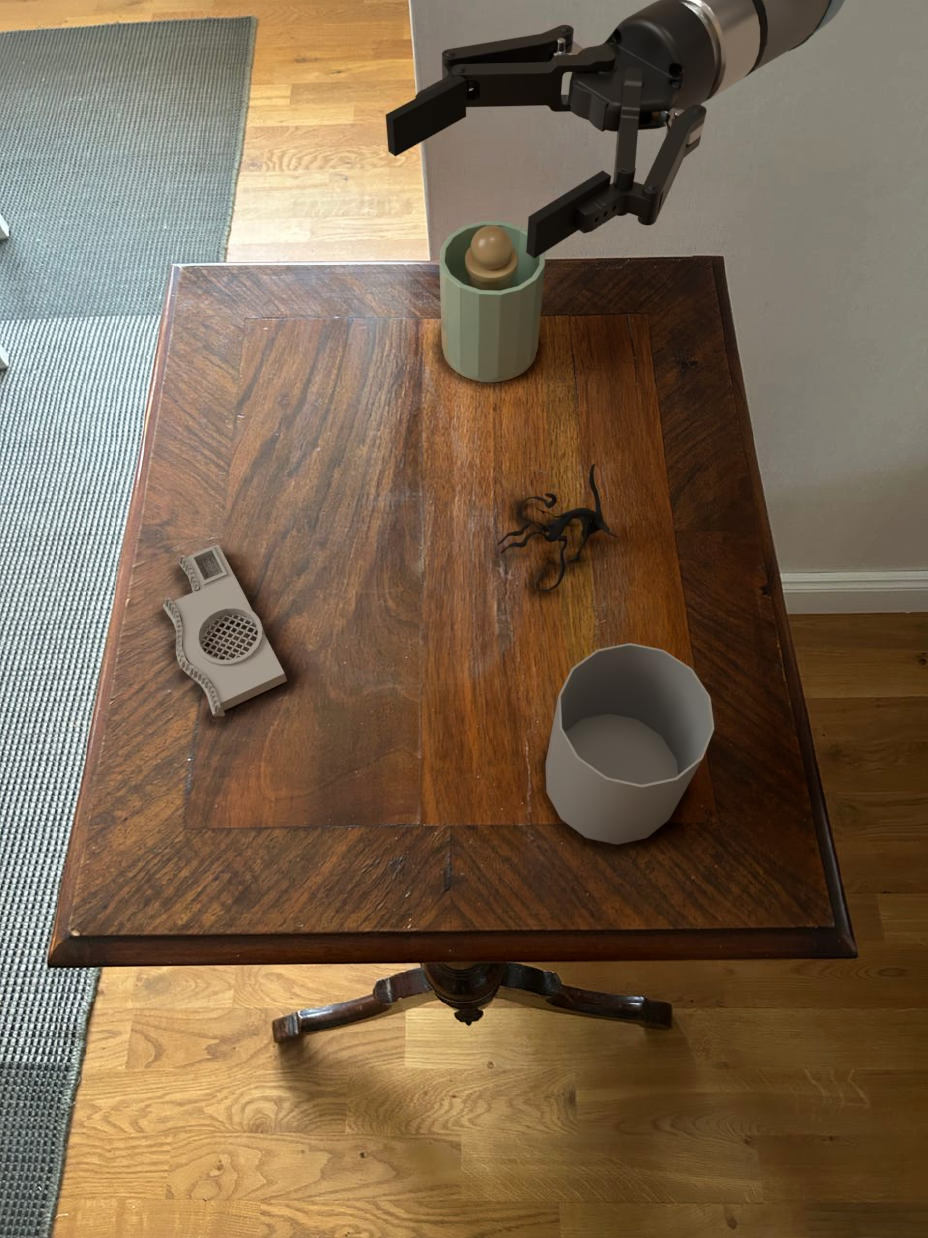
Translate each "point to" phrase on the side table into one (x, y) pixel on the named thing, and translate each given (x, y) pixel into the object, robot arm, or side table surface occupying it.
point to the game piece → (491, 259)
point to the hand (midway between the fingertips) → (457, 185)
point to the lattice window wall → (220, 634)
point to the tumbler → (489, 310)
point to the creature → (558, 526)
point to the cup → (626, 742)
